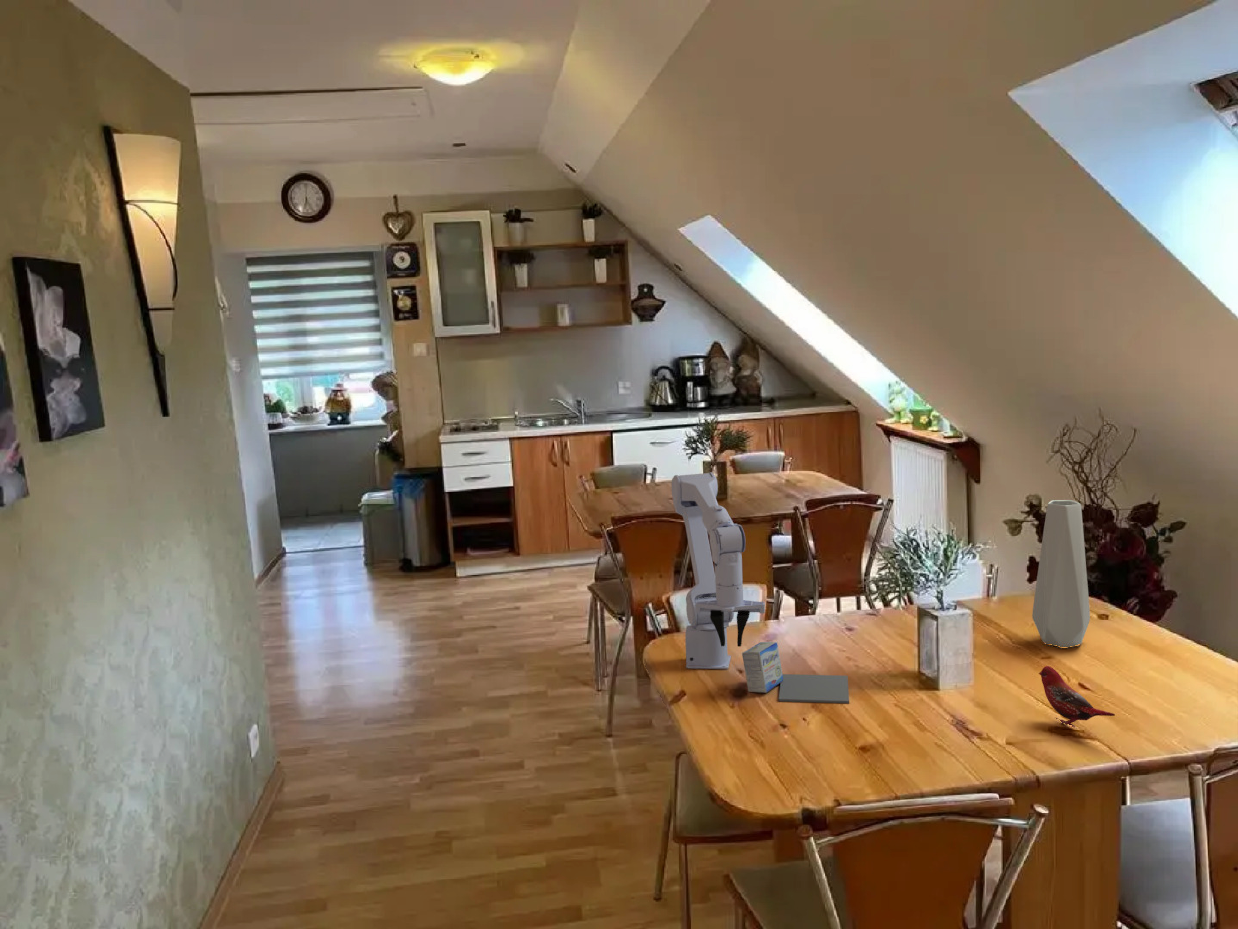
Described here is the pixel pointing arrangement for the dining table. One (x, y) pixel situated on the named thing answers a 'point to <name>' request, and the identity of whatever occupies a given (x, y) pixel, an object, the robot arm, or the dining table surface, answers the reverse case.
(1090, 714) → the decorative bird figurine
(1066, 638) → the vase
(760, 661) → the medicine box
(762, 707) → the dining table surface
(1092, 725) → the dining table surface
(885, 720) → the dining table surface
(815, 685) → the mat
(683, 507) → the robot arm
